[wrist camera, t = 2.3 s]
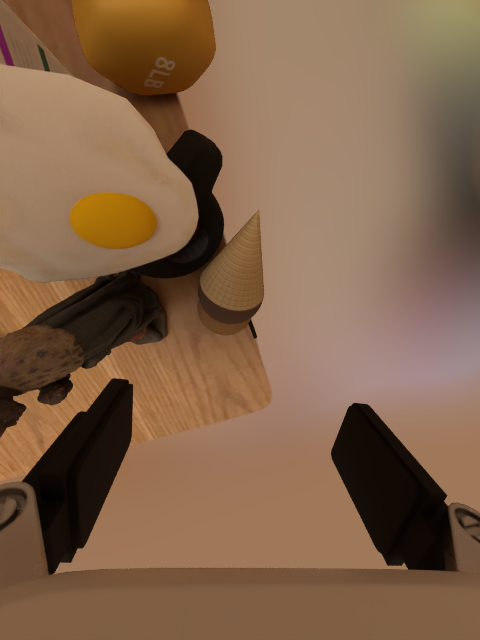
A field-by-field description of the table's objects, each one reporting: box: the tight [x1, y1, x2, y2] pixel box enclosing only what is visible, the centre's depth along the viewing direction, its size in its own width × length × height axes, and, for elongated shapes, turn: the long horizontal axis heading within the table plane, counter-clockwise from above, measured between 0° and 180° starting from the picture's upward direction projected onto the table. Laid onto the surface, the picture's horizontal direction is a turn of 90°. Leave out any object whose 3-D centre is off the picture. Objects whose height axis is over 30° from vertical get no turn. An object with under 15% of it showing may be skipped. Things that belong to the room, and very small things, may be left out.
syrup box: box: [0, 0, 74, 77], centre depth 15 cm, size 6×6×14 cm
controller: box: [125, 130, 224, 278], centre depth 20 cm, size 4×12×10 cm
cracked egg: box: [0, 64, 199, 282], centre depth 12 cm, size 14×13×1 cm
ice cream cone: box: [198, 210, 264, 338], centre depth 22 cm, size 7×6×15 cm
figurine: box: [0, 271, 167, 437], centre depth 18 cm, size 8×9×18 cm
